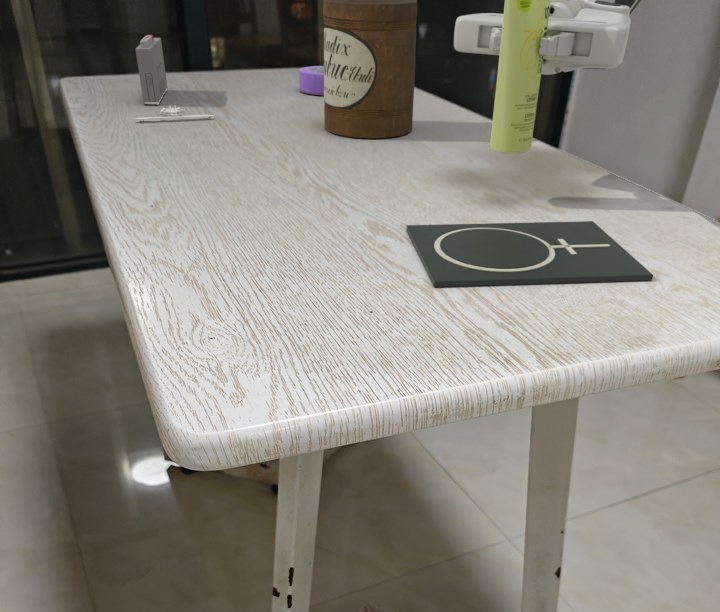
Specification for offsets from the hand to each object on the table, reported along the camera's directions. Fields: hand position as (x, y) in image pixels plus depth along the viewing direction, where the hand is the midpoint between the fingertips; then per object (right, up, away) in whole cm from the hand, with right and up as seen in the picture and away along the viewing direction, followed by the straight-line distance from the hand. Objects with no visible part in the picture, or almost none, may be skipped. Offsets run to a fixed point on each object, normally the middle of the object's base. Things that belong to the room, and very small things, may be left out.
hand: (520, 45), depth 78 cm
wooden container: (-16, +11, +41) cm, 46 cm away
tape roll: (-24, +32, +67) cm, 78 cm away
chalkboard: (-1, -24, -3) cm, 24 cm away
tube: (0, -8, +8) cm, 11 cm away
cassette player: (-57, +26, +59) cm, 86 cm away
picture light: (-50, +15, +45) cm, 69 cm away
